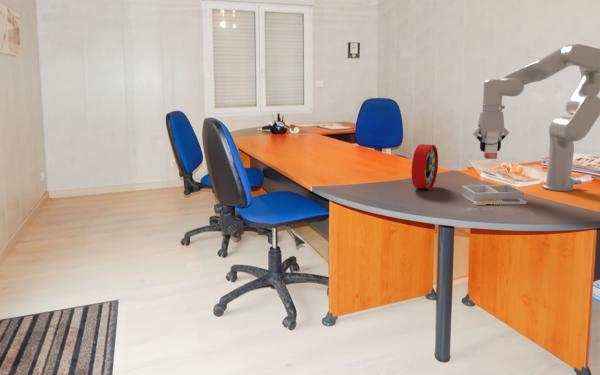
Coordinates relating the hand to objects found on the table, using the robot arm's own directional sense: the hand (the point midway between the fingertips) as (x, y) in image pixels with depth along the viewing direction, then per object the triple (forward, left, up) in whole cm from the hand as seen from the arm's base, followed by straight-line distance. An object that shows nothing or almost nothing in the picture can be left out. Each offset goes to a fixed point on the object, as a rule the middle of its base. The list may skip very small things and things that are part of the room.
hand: (490, 150), depth 216 cm
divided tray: (+4, +17, -18) cm, 25 cm away
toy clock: (+26, -6, -18) cm, 33 cm away
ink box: (0, 0, -3) cm, 3 cm away
